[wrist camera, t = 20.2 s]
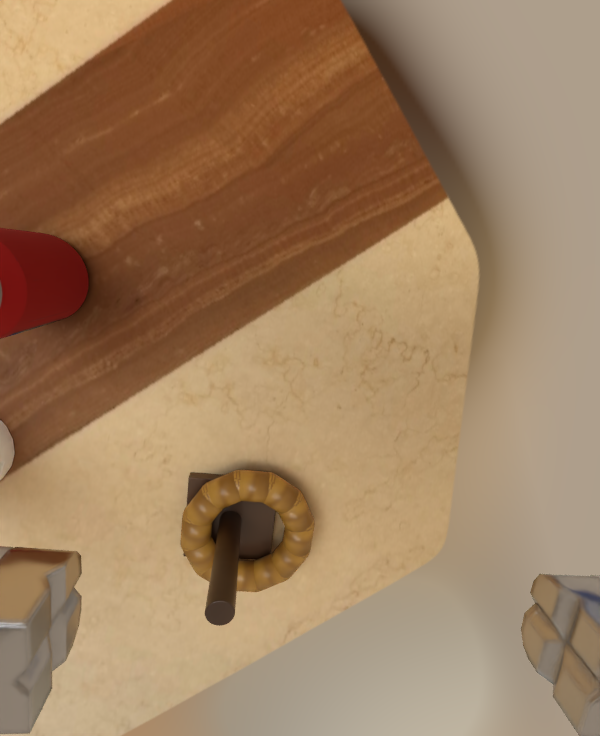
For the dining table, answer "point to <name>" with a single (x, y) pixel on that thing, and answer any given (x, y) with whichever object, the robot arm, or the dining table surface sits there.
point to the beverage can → (38, 280)
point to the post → (232, 547)
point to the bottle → (5, 450)
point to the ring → (252, 490)
